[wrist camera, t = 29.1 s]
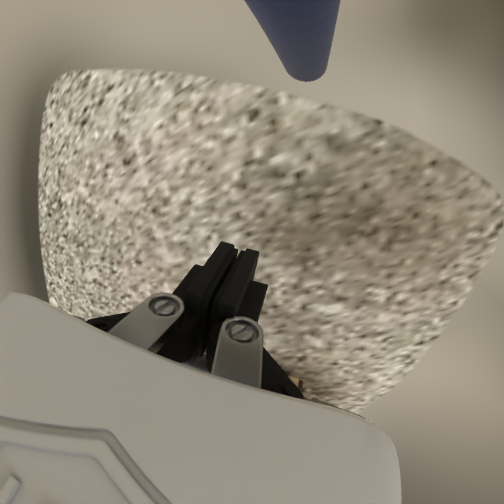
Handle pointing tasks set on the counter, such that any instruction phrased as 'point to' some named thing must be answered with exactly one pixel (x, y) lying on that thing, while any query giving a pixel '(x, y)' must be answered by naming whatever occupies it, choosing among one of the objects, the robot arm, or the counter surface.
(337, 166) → the counter surface
